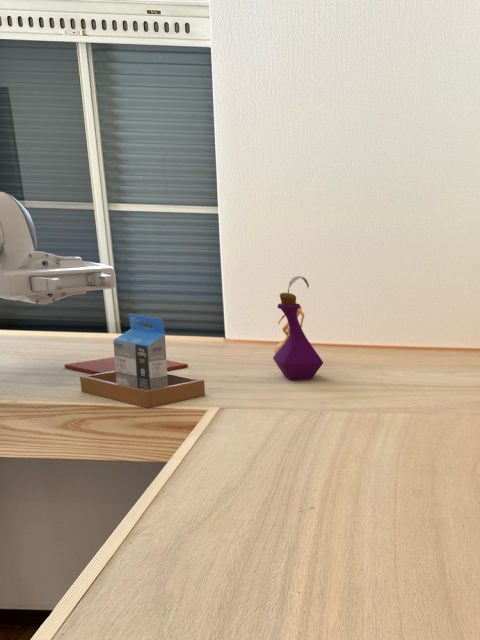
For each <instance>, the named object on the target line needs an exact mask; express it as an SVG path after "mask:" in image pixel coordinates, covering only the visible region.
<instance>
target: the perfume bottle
mask: <svg viewBox="0 0 480 640" xmlns="http://www.w3.org/2000/svg"><path fill="white" fill-rule="evenodd" d="M300 279H302V280H303V281H304V283H305V284H306V287H307V289H309V288H310V287H309V286H310V284H309V282H308V280H307V279H306V277H305V276H302V275H297V276H294V277H292V278H290V281H289V283H288V288H287V292H281V293H280V294H279V298H280V303H278V304H277V309H279V310H281V312H283V315H284V314H285V315H286V316H285V317H286V320H287V321H288V324H289V330H290V334H289V337H288V339H287V341H286V342H285V343H284V345H283V346H282V347H281V348H280V349H279V351H278V352H277V353H276V354H275V353H274V355H273V357H272V360H273V361H274V362H275V364H276V366H277V367H278V368H279V370H280V372H281V373H282V375H283V376H284V377H285V378H287V379H288V380H290V381H304V380H313V378H314V377H315V375H316V374H317V373H318V371H319V370H320V368H321V367H322V365H324V361H323V360H322V358H321V357H320V355H319V354H318V352H317V351H316V350H315V348H314V347H313V344H311V343H310V341H309V340H308V338H307V336H306V335H305V332H304V331H303V329H302V328H303V327H302V328H301V326H300V324H301V323H300V321H299V317H298V318H297V310H298V309H299V308H300V306H301V304H300V303H298V302H297V296H296V295H295V294H293V293H291V292H290V288H291V287H292V285H293V284H294V283H296V281H297V280H300Z"/></svg>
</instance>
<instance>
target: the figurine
mask: <svg viewBox="0 0 480 640" xmlns="http://www.w3.org/2000/svg"><path fill="white" fill-rule="evenodd" d="M300 315H301V317H300ZM285 317H286V315H285V314H284V313H283V314H282V316H281V317H280V319H279V321H278V323H277V325H280V324H281V322H282V320H283V319H284V318H285ZM299 317H300V323H299V324H300V326H301V328H303V323H304V318H305V313H304V312H303V310H302V306H301V305H300V308H299V309H298V310H297V318H298V319H299ZM282 332H283V333H284V334H285V336H286V337H285V338H284V340H282V341H281V342H279V343H278V344H277V345H276V346H275V349H274V355H275V354H276V353H277V352H278V351H279V349H280V348H281V347H282V346H283V345H284V343H285V342H286V341H287V339H288V337H289V334H290V330H289V324H288V320H287V321H286V323H285V324H284V326H282Z"/></svg>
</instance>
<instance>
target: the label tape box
mask: <svg viewBox="0 0 480 640" xmlns="http://www.w3.org/2000/svg"><path fill="white" fill-rule="evenodd" d="M128 320H129V327H130V328H129V329H128V330H126V331H125V332H124V333H122V334H120V335H119V336H117V337H116V338H114V339H113V343H112V344H113V353H114V354H113V355H114V357H115V368H116V382H117V383H118V384H122V385H126V386H131V387H135V388H140V389H144V390H150V389H155V388H161V387H166V386H168V378H167V373H168V371H167V362H166V360H167V348H166V332H165V326H164V321H163V318H161V317H157V316H156V317H155V316H148V315H142V314H133V313H128ZM146 323H147V324H148V325H152V327H149V326H143V324H146Z"/></svg>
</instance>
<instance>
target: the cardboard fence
mask: <svg viewBox="0 0 480 640" xmlns="http://www.w3.org/2000/svg"><path fill="white" fill-rule="evenodd" d="M167 378H168V386H166V387H161V388H155V389H150V390H144V389H140V388H135V387H131V386H126V385H122V384H118V383H117V382H116V371H110V372H104V373H98V374H92V373H91V374H86V375H80V376H79V381H80V389H81V392H82V393H86V394H89V395H94V396H98V397H102V398H106V399H110V400H114V401H118V402H122V403H127V404H131V405H135V406H138V407H143V408H147V409H149V408H153V407H158V406H161V405H166V404H171V403H175V402H180V401H185V400H188V399H189V400H190V399H195V398H198V397H203V396H206V389H205V388H206V386H205V380H204V379H201V378H196V377H192V376H191V377H190V376H185V375H180V374H175V373H171V372H167Z"/></svg>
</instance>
